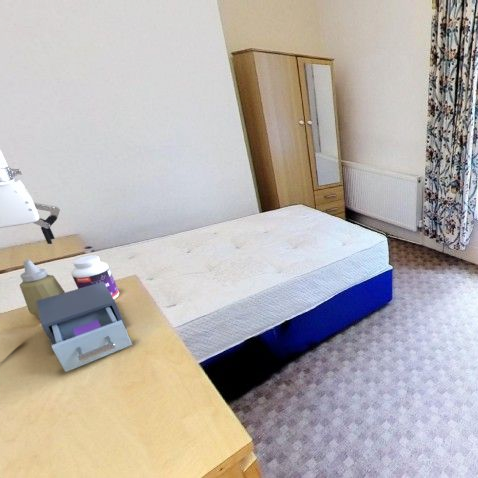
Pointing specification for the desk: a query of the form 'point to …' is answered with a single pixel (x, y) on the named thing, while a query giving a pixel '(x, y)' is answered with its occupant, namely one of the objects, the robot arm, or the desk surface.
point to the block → (86, 328)
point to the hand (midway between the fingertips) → (19, 247)
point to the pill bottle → (93, 274)
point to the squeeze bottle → (37, 286)
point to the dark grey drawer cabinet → (74, 306)
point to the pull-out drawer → (88, 339)
